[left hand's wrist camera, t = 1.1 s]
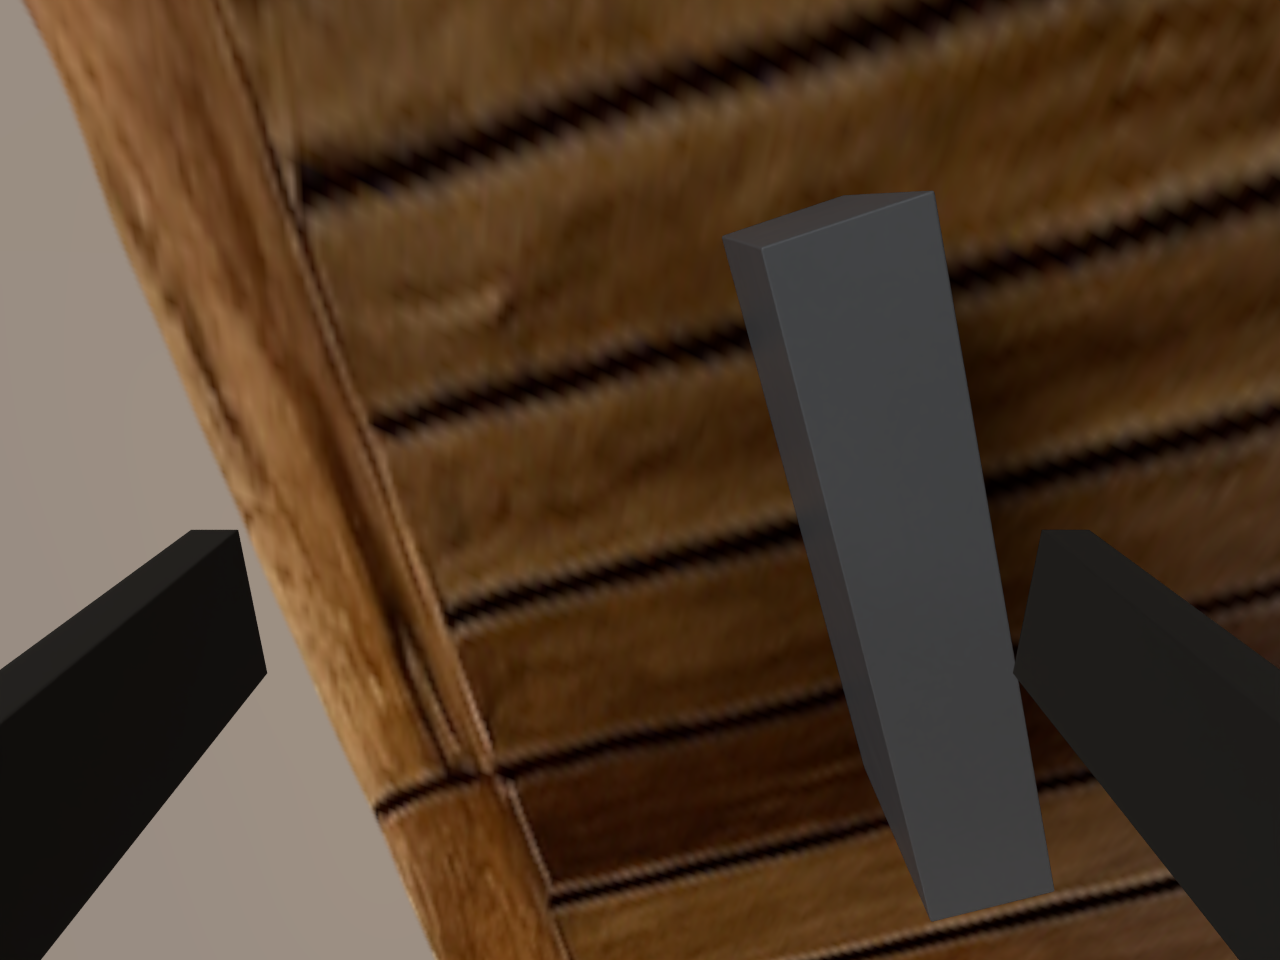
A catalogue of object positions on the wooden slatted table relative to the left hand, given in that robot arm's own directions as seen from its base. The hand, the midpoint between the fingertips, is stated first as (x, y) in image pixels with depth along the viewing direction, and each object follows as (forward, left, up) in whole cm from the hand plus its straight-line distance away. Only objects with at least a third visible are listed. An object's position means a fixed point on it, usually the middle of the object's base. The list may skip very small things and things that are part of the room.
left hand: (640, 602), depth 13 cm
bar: (-7, +9, -18) cm, 21 cm away
